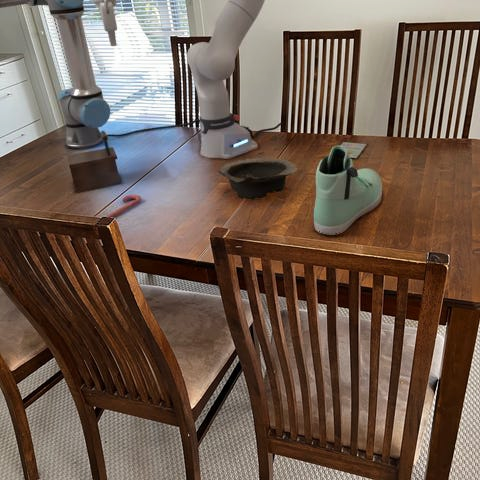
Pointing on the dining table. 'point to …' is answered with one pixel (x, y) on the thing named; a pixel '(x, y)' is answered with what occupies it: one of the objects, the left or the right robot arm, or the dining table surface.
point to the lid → (93, 155)
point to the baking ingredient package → (353, 148)
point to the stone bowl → (257, 176)
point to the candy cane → (126, 205)
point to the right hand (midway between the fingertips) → (113, 43)
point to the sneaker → (343, 192)
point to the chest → (95, 175)
